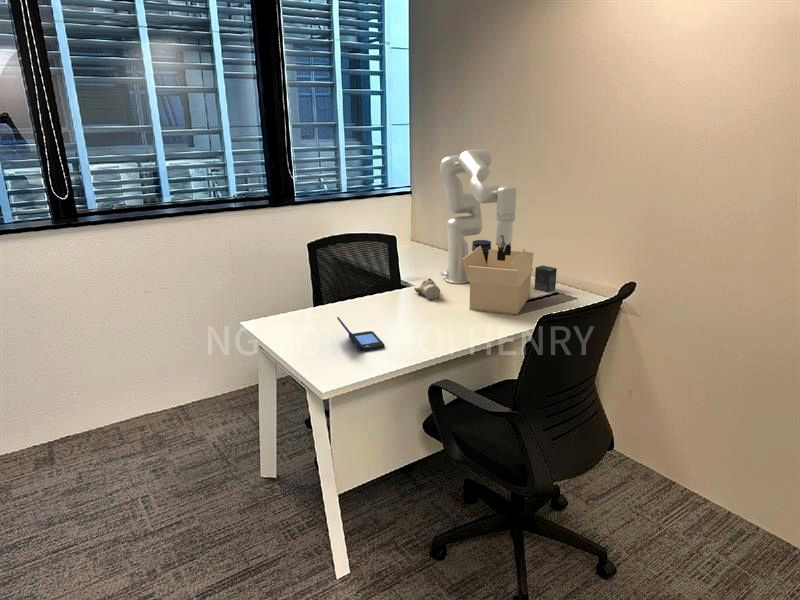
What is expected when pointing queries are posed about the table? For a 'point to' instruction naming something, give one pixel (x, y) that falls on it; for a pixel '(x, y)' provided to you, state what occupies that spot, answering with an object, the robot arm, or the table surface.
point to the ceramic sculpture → (429, 289)
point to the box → (545, 278)
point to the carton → (496, 282)
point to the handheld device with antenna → (364, 339)
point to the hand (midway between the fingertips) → (504, 257)
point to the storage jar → (484, 245)
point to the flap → (522, 266)
